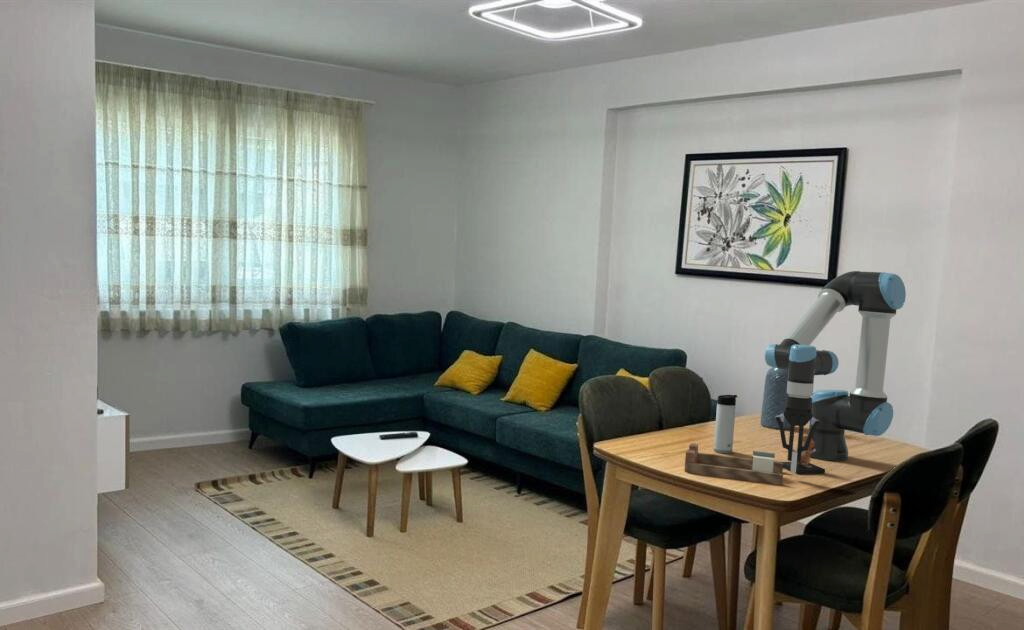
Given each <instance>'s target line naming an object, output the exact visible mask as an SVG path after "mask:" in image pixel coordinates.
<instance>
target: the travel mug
mask: <svg viewBox="0 0 1024 630" xmlns="http://www.w3.org/2000/svg"><path fill="white" fill-rule="evenodd" d="M737 398H738V395H737V394H723V395H722V394H720V395H718V396H717V402H716V415H715V426H714V437H713V438H714V441H713V451H714V453H715V452H716V453H718V454H722V455H723V454H724V455H725V454H726V455H729V454H730V455H731V454H732V453H733V447H734V446H733V445H734V431H735V420H736V419H735V418H736V405H737V403H736V402H737Z"/></svg>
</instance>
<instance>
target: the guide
mask: <svg viewBox="0 0 1024 630" xmlns="http://www.w3.org/2000/svg"><path fill="white" fill-rule="evenodd" d="M698 462H699V463H698ZM781 462H782V461H773V473H770V472H762V471H754V470H752V467H753V458H750V457H749V458H747V457H740V456H731V455H725V454H724V455H723V454H715V453H706V452H701V451H700V452H699V444H698V443H689V446H688V449H686V451H685V458H684V472H686V473H687V474H694V475H700V476H701V475H702V476H710V477H715V478H722V479H723V478H725V479H732V480H739V481H747V482H753V483H754V482H755V483H764V484H770V485H779V486H783V481H784V473H783V471H784V468H783V463H781ZM706 463H707V464H706ZM714 464H715V465H714Z"/></svg>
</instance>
